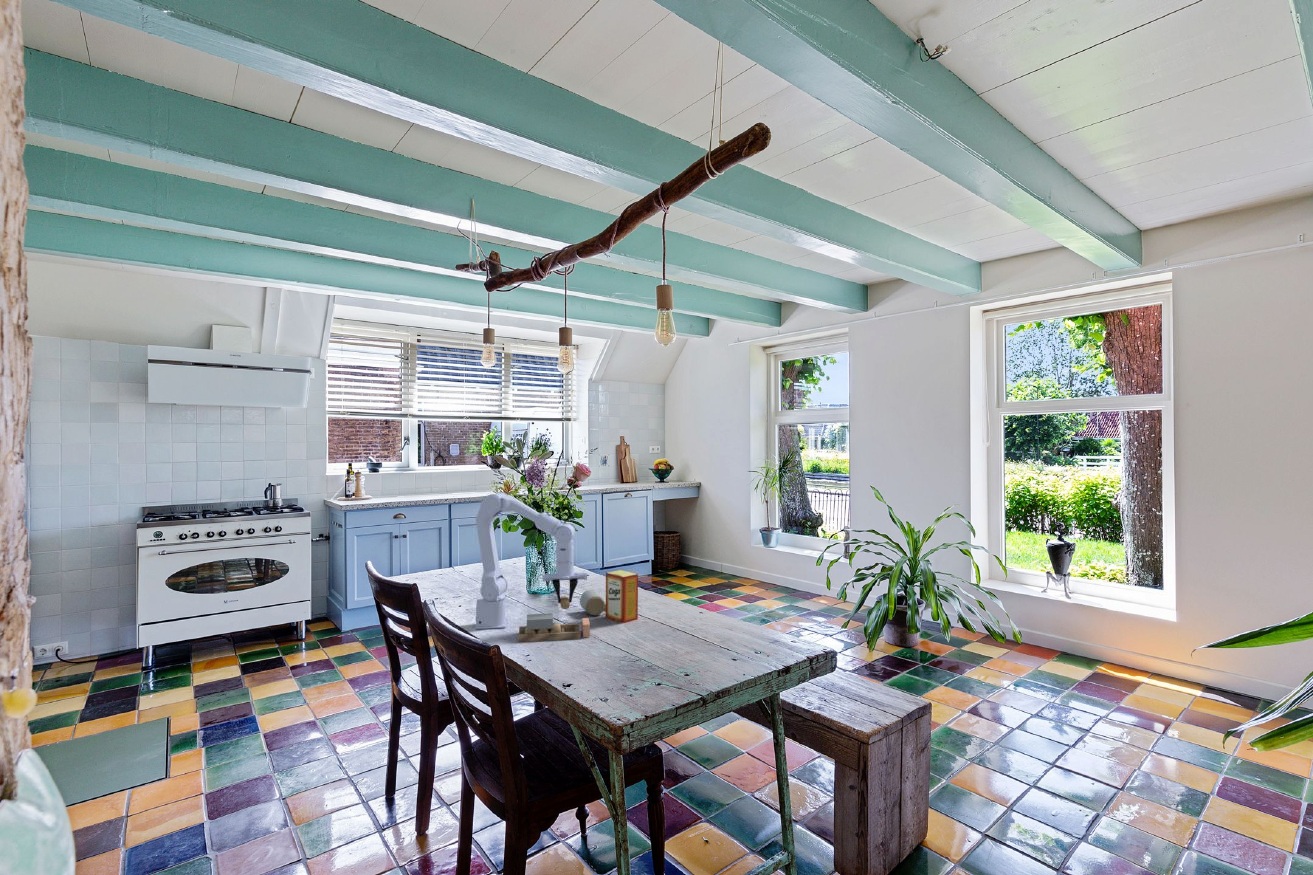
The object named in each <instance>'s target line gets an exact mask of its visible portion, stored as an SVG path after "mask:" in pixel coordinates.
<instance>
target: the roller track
mask: <svg viewBox="0 0 1313 875" xmlns="http://www.w3.org/2000/svg"><path fill="white" fill-rule="evenodd" d="M579 629H580V624H579V623H564V624H563V623H562V624H560V623H559V622H553V628H550V629H530V630H527V625H521V626H518V630H519V631H518V635H517V639H518V640H517V642H518V643H525V642H541V641H542V642H544V641H546V642H547V641H562V640H577V639H578V640H581V631H579Z"/></svg>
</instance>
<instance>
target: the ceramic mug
mask: <svg viewBox="0 0 1313 875" xmlns="http://www.w3.org/2000/svg"><path fill="white" fill-rule="evenodd" d="M579 605H580V607H581V608H582V609H583V610H584V611H585V612H586V613H587V614H588V615H590V616H599V615H601V613H603V612H605V613H606V602H605V600H604V598H603V597H602V595H600V593H599V592H598V591H596V590H594V589H588V590H585V591H584V592H582V594H581V596H580V598H579Z"/></svg>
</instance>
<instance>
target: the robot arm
mask: <svg viewBox="0 0 1313 875" xmlns="http://www.w3.org/2000/svg"><path fill="white" fill-rule="evenodd" d="M506 512H514V513H515V514H518V515H519V516H522V517H524V518H526V519H528V520H529V521H532V522H533V523H534V525H535V527H536V528H537V529H539V530H541V531H542V532H543V533H545V534H547V535H549V536H551V537H554V540H555V541H556V547H555V548H556V549H555V569H556V570H555V572H554V573H546V574H545V573H544V574H542V578H541V579H542V583H543V582H550V581H551V583H552V586H553V588H554V591H555V593H556V597H557V603H558V604H560V598H561V581H568V582H569V593H568V594H569V595H568V598H569V602H570V603H572V601H573V597H574V594H575V593H574V592H575V590H576V587H577V586H578V583H579V581H582V580H584V581H588V573H587V572H574V571H575V570H574V569H575V568H574V565H575V564H574V560H575V559H574V556H575V555H574V554H575V553H574V552H575V551H574V550H575V547H574V537H575V535H576V529H575V527H574V526H573V525H572V524H571V523H569V522H566V523H565V520H560V519H558V518H556V517H555V516H553V514H552V513H551V512H546V511H543V512H541V513H540V512H538V511H537V510H535V509H534V508H533V507H530V506H528V505H526V503H524V502H522V501H520V500H518V499H517V498H516V497H514V496H513V495H511V494H508V493H506V492H504V491H498V492H496V493H492V494H491V493H490V494H488V495H486V496H485V497H484V499H482V500H481V501H480V507H479V510H478V512H477V514H476V517H475V522H476V530H477V535H478V545H479V550H480V555H481V556H480V557H481V562H482V563H481V564H482V569H483V573H482V576H481V587H480V588H479V589H480V595H481V597H482V598H478V599H477V600H476V603H475V605H476V606H475V607H476V608H475V611H476V612H475V629H477V630H483V629H502V628H506V627H507V624H508V620H507V619H506V594H505V592H506V591H507V589H508V586H509V585H508V581H507V579H506V578H505V575H504V572H503V570H502V568H501V567H500V561H499V554H498V547H497V543H496V542H497V541H496V536H495V528H494V523H493V522H494V521H495V520H496V518H497V517H499V514H501V513H506Z"/></svg>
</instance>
